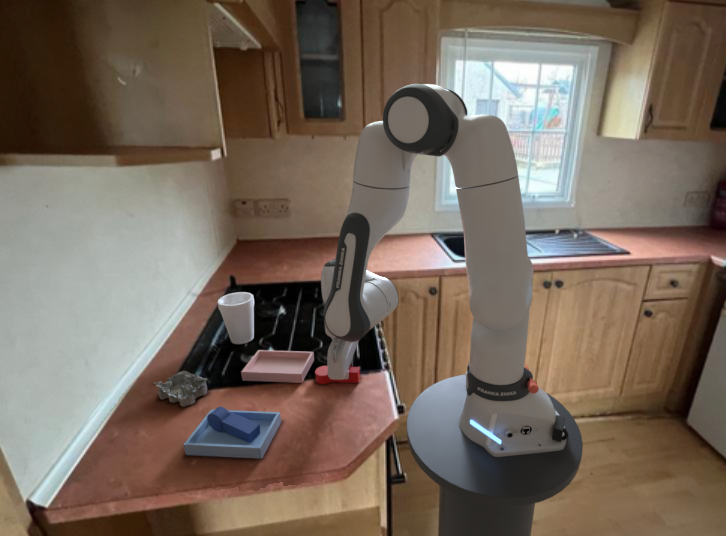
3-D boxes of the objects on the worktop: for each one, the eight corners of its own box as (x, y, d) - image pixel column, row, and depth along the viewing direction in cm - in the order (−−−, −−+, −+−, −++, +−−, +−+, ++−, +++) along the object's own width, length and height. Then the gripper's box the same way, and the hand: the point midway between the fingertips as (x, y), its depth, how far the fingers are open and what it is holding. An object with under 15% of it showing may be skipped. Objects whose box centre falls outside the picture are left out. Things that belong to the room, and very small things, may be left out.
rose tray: (314, 360, 111) (313, 351, 110) (302, 383, 101) (301, 374, 100) (259, 358, 112) (258, 349, 111) (242, 380, 102) (240, 371, 101)
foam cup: (220, 338, 122) (213, 298, 117) (251, 327, 128) (245, 289, 123) (232, 350, 115) (225, 308, 111) (264, 339, 121) (258, 299, 116)
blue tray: (281, 421, 88) (280, 412, 87) (262, 458, 79) (260, 448, 78) (213, 418, 89) (211, 409, 88) (185, 455, 80) (183, 444, 79)
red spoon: (361, 374, 104) (360, 364, 103) (357, 385, 100) (357, 375, 99) (318, 373, 105) (317, 363, 104) (313, 383, 101) (312, 373, 100)
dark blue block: (250, 446, 82) (260, 436, 84) (248, 430, 80) (259, 420, 83) (208, 427, 85) (219, 418, 88) (206, 410, 84) (217, 401, 86)
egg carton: (154, 397, 96) (150, 382, 95) (183, 380, 102) (179, 366, 101) (185, 410, 92) (181, 394, 90) (213, 390, 98) (210, 376, 97)
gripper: (347, 347, 87) (350, 400, 92) (364, 305, 106) (366, 351, 111) (317, 346, 87) (323, 399, 92) (340, 304, 106) (343, 351, 111)
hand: (347, 373), depth 102 cm, fingers closed on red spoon, 2 cm apart
